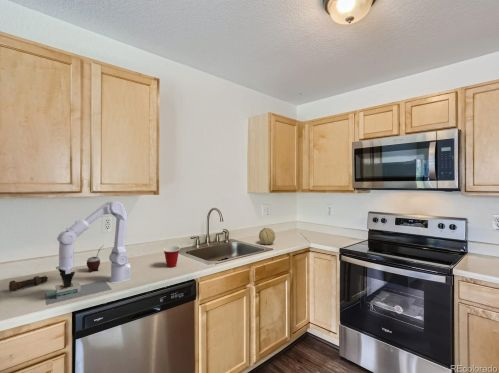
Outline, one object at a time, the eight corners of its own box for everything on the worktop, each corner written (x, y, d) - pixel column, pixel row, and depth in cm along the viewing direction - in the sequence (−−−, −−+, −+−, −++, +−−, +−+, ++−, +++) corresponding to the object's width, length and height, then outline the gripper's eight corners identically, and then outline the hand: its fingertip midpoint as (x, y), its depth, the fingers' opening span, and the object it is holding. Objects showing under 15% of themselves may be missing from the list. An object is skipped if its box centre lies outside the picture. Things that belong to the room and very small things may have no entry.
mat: (104, 281, 142) (104, 280, 142) (111, 290, 130) (111, 289, 130) (44, 293, 125) (44, 292, 125) (46, 306, 113) (46, 304, 113)
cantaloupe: (278, 245, 230) (278, 228, 230) (265, 247, 222) (265, 229, 222) (268, 241, 242) (268, 225, 242) (255, 243, 234) (255, 227, 234)
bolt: (47, 285, 140) (11, 295, 127) (43, 279, 142) (7, 288, 129) (50, 277, 138) (13, 285, 126) (46, 271, 141) (10, 279, 128)
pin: (69, 292, 126) (69, 271, 126) (70, 294, 124) (70, 273, 124) (62, 293, 124) (62, 273, 124) (62, 295, 122) (62, 274, 122)
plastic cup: (160, 269, 163) (160, 250, 163) (165, 263, 174) (165, 245, 173) (177, 269, 163) (178, 250, 163) (181, 263, 174) (182, 246, 174)
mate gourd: (83, 272, 155) (83, 247, 155) (93, 268, 163) (93, 244, 163) (95, 273, 154) (95, 248, 154) (104, 268, 162) (104, 245, 162)
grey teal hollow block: (78, 288, 131) (78, 281, 131) (80, 293, 125) (80, 285, 125) (46, 295, 122) (46, 287, 122) (47, 301, 116) (47, 292, 116)
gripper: (54, 254, 127) (54, 282, 127) (57, 261, 116) (57, 291, 116) (72, 252, 132) (72, 278, 132) (76, 258, 121) (76, 287, 121)
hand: (66, 284), depth 124 cm, fingers open, 7 cm apart
